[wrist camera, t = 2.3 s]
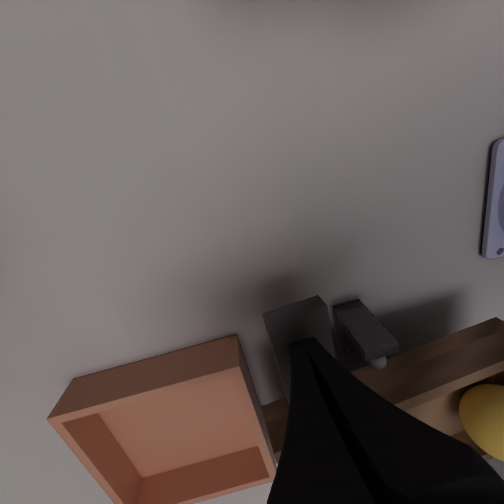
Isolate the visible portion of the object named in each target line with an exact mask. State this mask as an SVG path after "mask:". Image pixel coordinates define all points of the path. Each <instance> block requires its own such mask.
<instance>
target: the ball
mask: <svg viewBox="0 0 504 504" xmlns="http://www.w3.org/2000/svg"><path fill="white" fill-rule="evenodd" d="M459 415H460V419H461V422H462V424H463V427H464V429H465V430H466V432H467V434H468V435H469V436H470V438H471V439H472V440H473V441H474V442H475V443H476V444H477V445H478V446H479V447H480V448H481V449H483V450H484V451H485V452H487V453H488V454H490V455H491V456H493V457H495V458H497V459H499V460H501V461H504V386H501V385H495V384H481V385H477V386H474V387H472V388H470V389H469V390H467V391H466V392H465V393H464V395H463V396H462V398H461V400H460V404H459Z"/></svg>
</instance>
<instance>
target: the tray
mask: <svg viewBox="0 0 504 504" xmlns="http://www.w3.org/2000/svg"><path fill="white" fill-rule="evenodd" d="M47 420H48V422H49V423H50V424H51V425H52V427H53V428H54V429H55V430H56V432H57V433H58V434H59V435H60V436H61V438H62V439H63V440H64V441H65V443H66V444H67V445H68V446H69V448H70V449H71V450H72V451H73V453H74V454H75V455H76V456H77V458H78V459H79V460H80V461H81V463H82V464H83V465H84V466H85V468H86V469H87V470H88V471H89V473H90V474H91V475H92V476H93V478H94V479H95V480H96V481H97V483H98V484H99V485H100V486H101V488H102V489H103V490H104V491H105V493H106V494H107V495H108V496H109V498H110V499H111V500H112V501H113V503H114V504H194V503H197V502H201V501H204V500H208V499H211V498H215V497H219V496H222V495H226V494H229V493H233V492H236V491H240V490H243V489H247V488H251V487H254V486H258V485H261V484H265V483H268V482H272V481H274V478H275V474H276V471H277V467H276V461H275V456H274V453H273V449H272V445H271V442H270V438H269V434H268V431H267V427H266V424H265V420H264V416H263V413H262V409H261V406H260V403H259V400H258V397H257V394H256V391H255V388H254V385H253V382H252V379H251V376H250V373H249V370H248V367H247V364H246V361H245V358H244V355H243V352H242V349H241V346H240V343H239V340H238V337H237V335H233V336H230V337H226V338H222V339H219V340H215V341H211V342H208V343H204V344H200V345H197V346H193V347H189V348H186V349H182V350H178V351H175V352H171V353H167V354H164V355H160V356H156V357H153V358H149V359H145V360H142V361H138V362H134V363H131V364H127V365H123V366H120V367H116V368H112V369H109V370H105V371H101V372H98V373H94V374H90V375H87V376H83V377H79V378H76V379H73V380H72V381H71V383H70V384H69V386H68V387H67V389H66V390H65V392H64V393H63V395H62V396H61V398H60V399H59V401H58V402H57V404H56V405H55V407H54V408H53V410H52V412H51V413H50V415H49V416H48V418H47Z"/></svg>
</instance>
